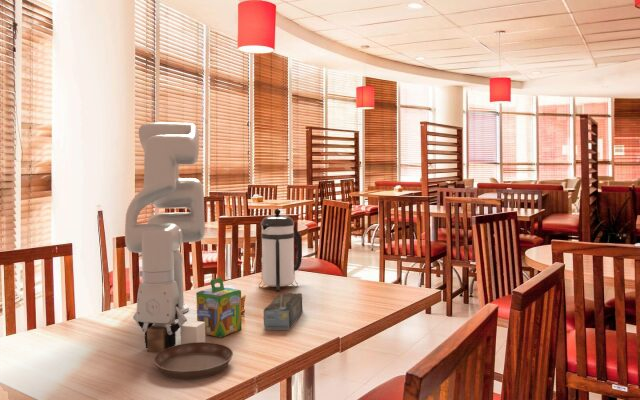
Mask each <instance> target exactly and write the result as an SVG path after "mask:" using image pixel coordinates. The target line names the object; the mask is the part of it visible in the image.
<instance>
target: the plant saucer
mask: <svg viewBox="0 0 640 400" xmlns="http://www.w3.org/2000/svg"><path fill="white" fill-rule="evenodd" d="M233 355H234V352H233V350H232V348H230V347H229V346H227V345H224V344H221V343H216V342H210V341H209V342H206V341H205V342H195V343H186V344H181V343H180V344H178V345H177V344H175V346H172V347H169V348H167V349H164V350H162V351H161V352H159V353H157V354H156V355H155V356H154V358H153V363H154V364H155V366H156V367H157V368H158V370H159V371H160V372H161V373H163V374H164V375H165V376H166V377H169V378H172V379H177V380H196V379H197V380H198V379H202V378H206V377H207V378H208V377H210V376H213V375H216V374H218V373H219V372H221V371H222V370H224V369H225V368H226V366H227V365H228V364H229V363H230V361H231V360H232V358H233Z"/></svg>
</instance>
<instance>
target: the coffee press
mask: <svg viewBox="0 0 640 400" xmlns="http://www.w3.org/2000/svg"><path fill="white" fill-rule="evenodd" d="M274 214H275V215H268V216H265V217H264V218H263V219H262V220H261V222H260V226H261V232H260V234H261V235H260V237H261V238H260V239H261V240H260V241H261V242H260V243H261V244H260V245H261V246H260V247H261V250H260V252H261V254H260V255H261V278H262V280H261V281H260V282H259V283H258V288H259V289H262V288H263V287H265V286H267V287H276V288H275V289H276V290H275V292H276V293H277V292H279V293H281V292H280V291H281V287H286V286H290V285H292V286H293V287H294V288H298V286H299V285H298V282H297V281H296V278H295V277H296V275H295V272H296V271H298V270H299V268H300V267H301V264H302V259H303V258H302V252H303V251H302V250H303V249H302V248H303V247H302V237H301V234H300V232H298V231H296V230H294V226H295V222H294V220H293V218H292V217H290V216H288V215H280V214H281V209H280V208H279V209H278V208H276V209H274ZM295 239H296V263H295ZM294 282H295V283H296V286H295V285H294V284H293V283H294ZM261 283H263V285H261ZM260 285H261V286H260Z"/></svg>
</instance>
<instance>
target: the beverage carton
mask: <svg viewBox="0 0 640 400" xmlns="http://www.w3.org/2000/svg"><path fill="white" fill-rule="evenodd" d="M303 312H304V310H303V293H293V292H288V293H287V292H286V293H284V292H282V293H281V292H279V294H277V295H276V297H275V298H274V299H273V300H272V301H271V302H270V303H269V304H268V305H267V306H266V307H265V308H264V309H263V325H264V327H263V328H264V330H276V331H278V330H279V331H290V330H291V328H292V327H293V326H294V324H295V323H296V321H297V320H298V318H299V317H300V316H301V314H302V313H303Z"/></svg>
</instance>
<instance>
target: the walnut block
mask: <svg viewBox="0 0 640 400" xmlns="http://www.w3.org/2000/svg"><path fill="white" fill-rule="evenodd" d="M167 334H168V333H167V329H166V326H165V324H155V323H154V324H153V325H152V326H151V327H149V328H147V348H146V349H147V353H157V354H158V353H159V352H161V351H162V350H164V349H166V335H167Z"/></svg>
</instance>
